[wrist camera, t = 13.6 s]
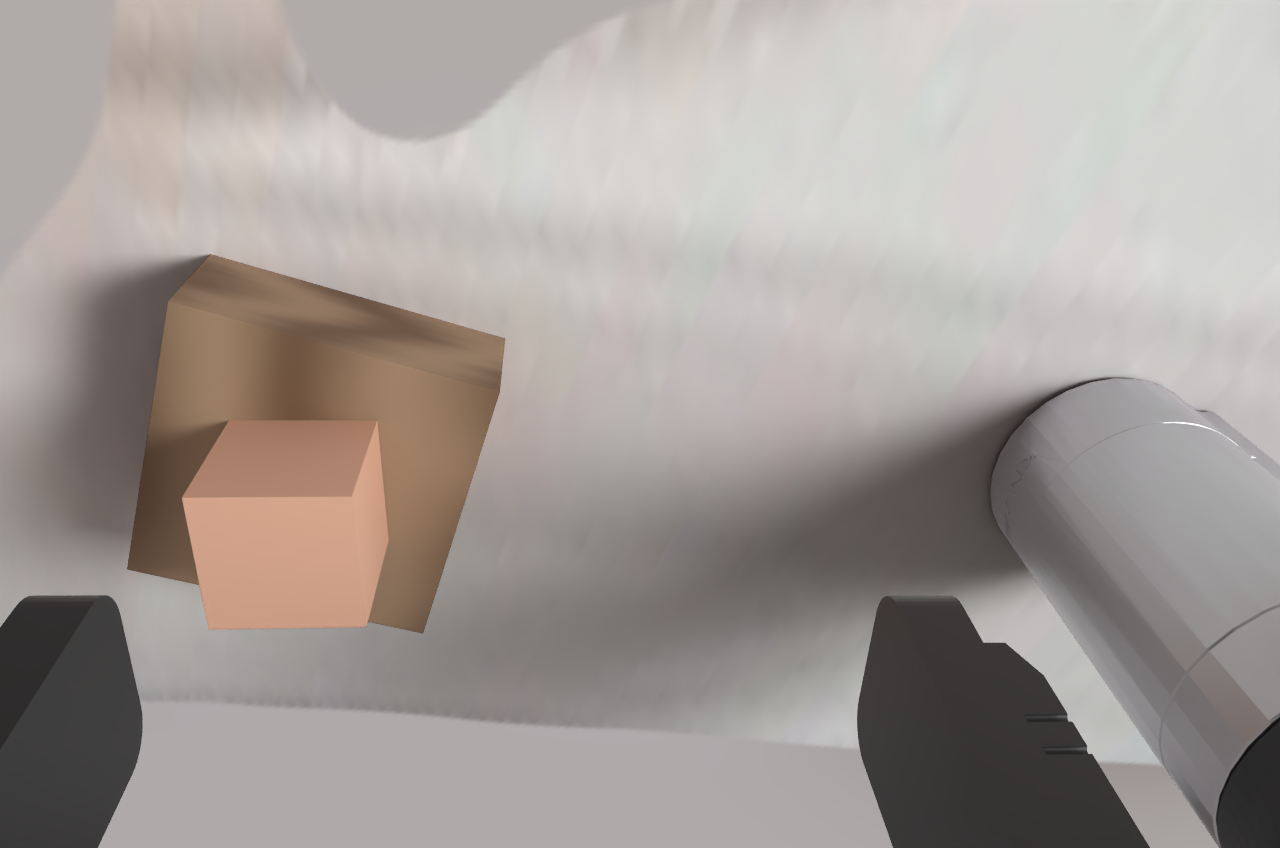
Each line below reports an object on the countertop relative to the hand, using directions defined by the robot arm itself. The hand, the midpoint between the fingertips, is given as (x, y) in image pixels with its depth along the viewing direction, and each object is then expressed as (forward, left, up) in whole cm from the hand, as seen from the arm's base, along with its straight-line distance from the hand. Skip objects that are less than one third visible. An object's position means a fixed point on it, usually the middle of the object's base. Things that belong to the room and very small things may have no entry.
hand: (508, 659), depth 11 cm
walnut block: (+8, +12, -28) cm, 32 cm away
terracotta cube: (+8, +12, -24) cm, 28 cm away
